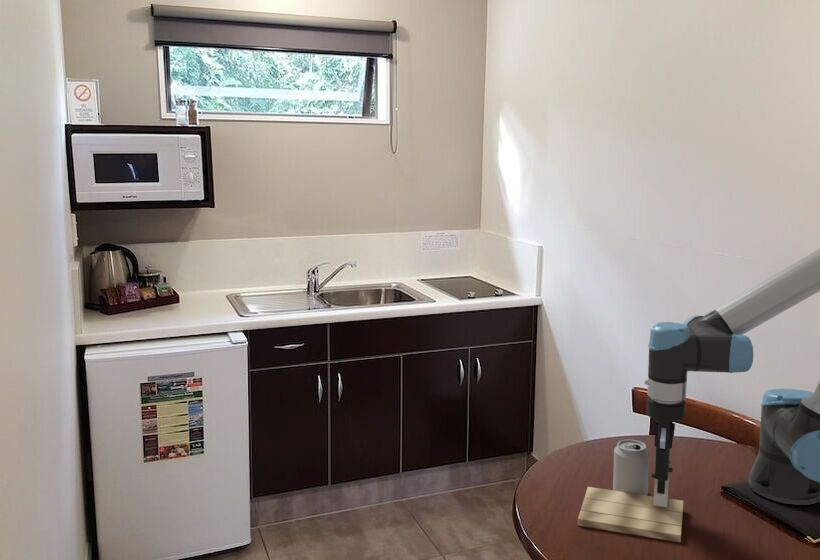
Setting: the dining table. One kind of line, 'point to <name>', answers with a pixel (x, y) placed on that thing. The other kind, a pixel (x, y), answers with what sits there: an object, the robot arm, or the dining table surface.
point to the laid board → (630, 525)
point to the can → (631, 467)
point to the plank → (632, 506)
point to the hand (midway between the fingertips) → (660, 503)
